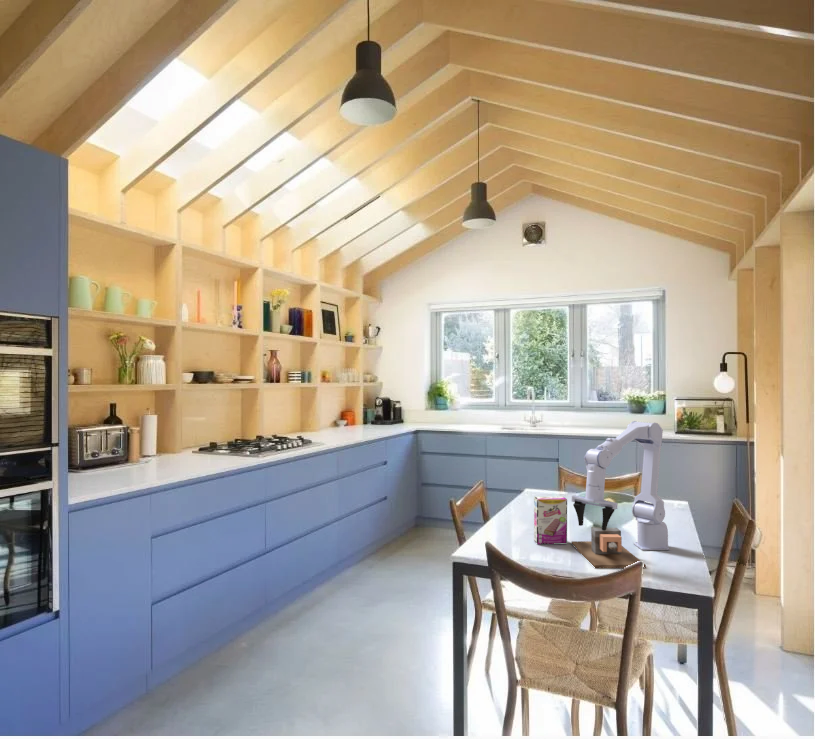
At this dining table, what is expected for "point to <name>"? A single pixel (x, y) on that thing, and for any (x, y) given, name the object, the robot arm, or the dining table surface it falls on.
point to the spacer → (610, 538)
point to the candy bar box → (550, 520)
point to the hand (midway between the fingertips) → (592, 527)
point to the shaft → (609, 543)
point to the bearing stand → (604, 558)
